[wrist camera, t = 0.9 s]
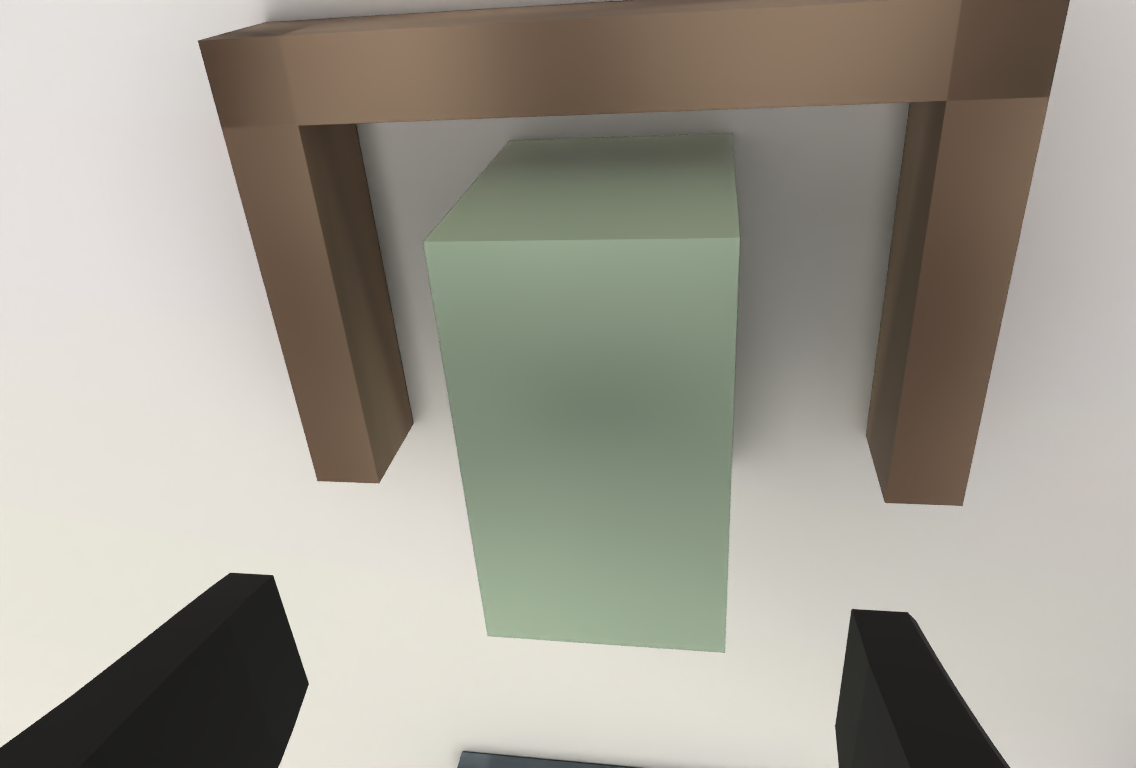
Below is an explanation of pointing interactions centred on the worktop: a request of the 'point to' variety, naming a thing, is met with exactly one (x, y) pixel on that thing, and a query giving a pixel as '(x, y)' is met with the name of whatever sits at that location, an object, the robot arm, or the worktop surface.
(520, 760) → the tray
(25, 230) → the worktop surface
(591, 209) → the tall sage green block
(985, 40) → the holder
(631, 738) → the worktop surface
